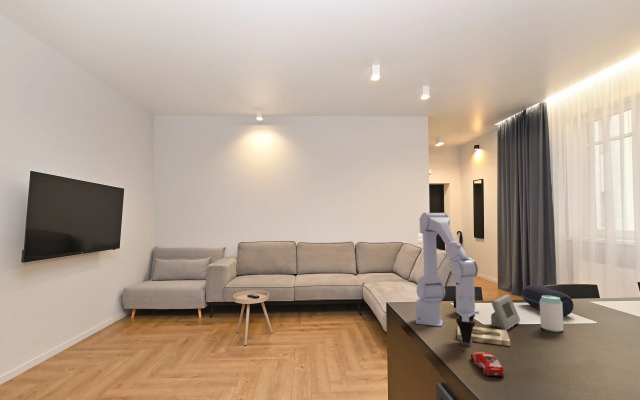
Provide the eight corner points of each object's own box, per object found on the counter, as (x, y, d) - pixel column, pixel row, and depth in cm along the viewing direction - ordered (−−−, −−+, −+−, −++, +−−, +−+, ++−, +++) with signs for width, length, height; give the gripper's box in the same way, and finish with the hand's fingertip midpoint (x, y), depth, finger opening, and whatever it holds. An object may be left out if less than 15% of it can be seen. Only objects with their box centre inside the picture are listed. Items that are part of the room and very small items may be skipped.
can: (539, 329, 126) (537, 297, 127) (542, 325, 131) (541, 294, 132) (562, 334, 121) (560, 300, 122) (565, 329, 126) (563, 296, 127)
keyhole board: (457, 339, 116) (457, 334, 116) (458, 328, 127) (458, 324, 127) (510, 346, 110) (510, 341, 110) (506, 334, 121) (506, 330, 121)
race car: (468, 358, 101) (468, 344, 101) (488, 359, 100) (487, 345, 100) (484, 378, 88) (484, 362, 88) (506, 379, 87) (506, 363, 87)
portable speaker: (579, 318, 140) (578, 294, 141) (555, 318, 140) (554, 294, 141) (540, 304, 165) (539, 283, 166) (519, 304, 165) (519, 283, 166)
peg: (461, 345, 110) (460, 321, 111) (461, 342, 113) (460, 318, 114) (471, 346, 109) (471, 322, 110) (471, 343, 112) (471, 320, 112)
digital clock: (506, 332, 123) (505, 302, 124) (482, 326, 131) (481, 298, 131) (528, 324, 132) (527, 297, 133) (505, 319, 140) (504, 293, 140)
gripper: (479, 302, 104) (480, 347, 103) (478, 293, 117) (479, 333, 116) (454, 300, 107) (455, 344, 106) (456, 291, 120) (457, 330, 119)
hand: (466, 338), depth 111 cm, fingers open, 7 cm apart
